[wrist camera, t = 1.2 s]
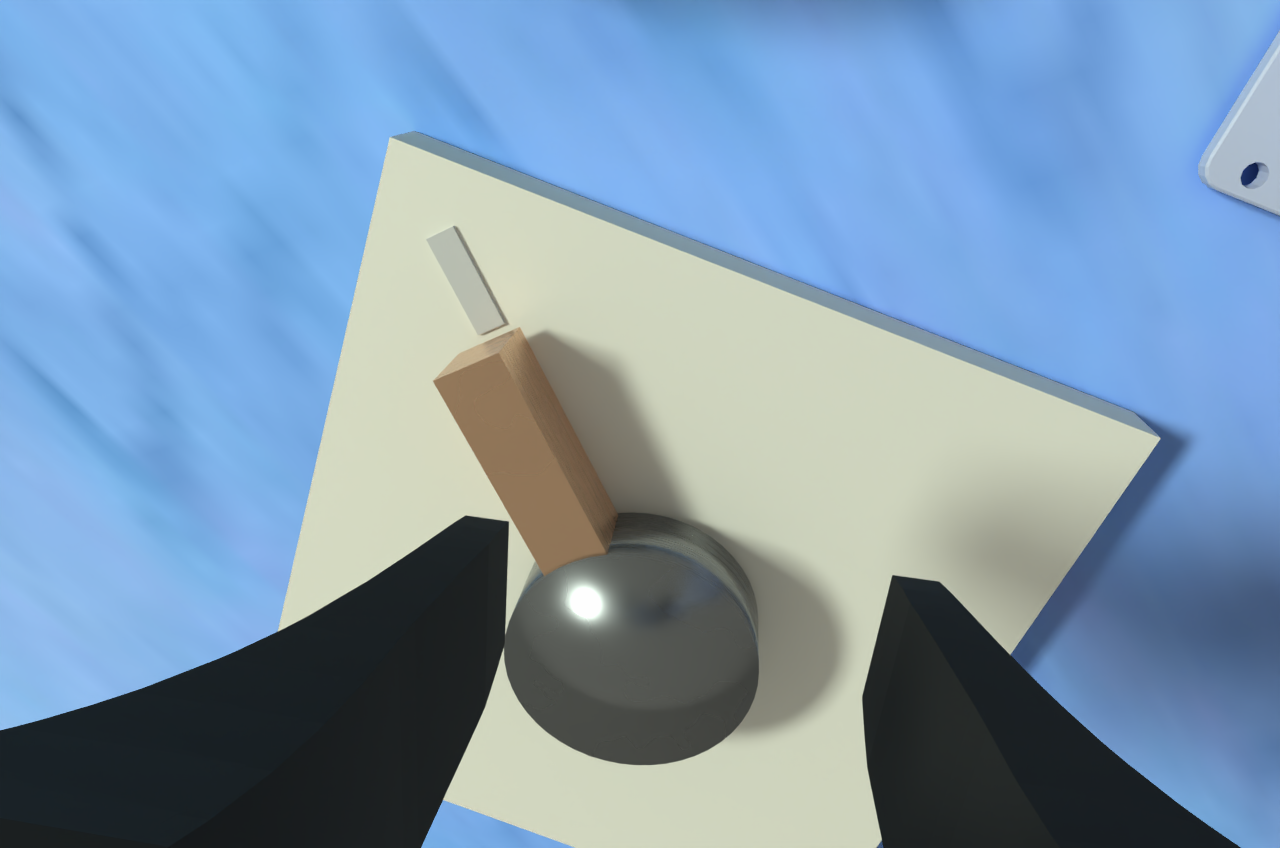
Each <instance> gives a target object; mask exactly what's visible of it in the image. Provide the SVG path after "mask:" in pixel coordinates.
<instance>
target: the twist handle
mask: <svg viewBox="0 0 1280 848" xmlns="http://www.w3.org/2000/svg"><path fill="white" fill-rule="evenodd" d="M433 382H434V384H435V386H436V388H437V389H438V391H439V393H440V395H441V396H442V398H443V400H444V402H445V403H446V405H447V407H448V409H449V410H450V412H451V414H452V416H453V417H454V419H455V421H456V423H457V424H458V426H459V428H460V430H461V431H462V433H463V435H464V437H465V438H466V440H467V442H468V444H469V445H470V447H471V449H472V451H473V452H474V454H475V456H476V458H477V459H478V461H479V463H480V465H481V466H482V468H483V470H484V472H485V473H486V475H487V477H488V479H489V480H490V482H491V484H492V486H493V487H494V489H495V491H496V493H497V494H498V496H499V498H500V500H501V501H502V503H503V505H504V507H505V508H506V510H507V512H508V514H509V515H510V517H511V519H512V521H513V522H514V524H515V526H516V528H517V529H518V531H519V533H520V535H521V536H522V538H523V540H524V542H525V543H526V545H527V547H528V549H529V550H530V552H531V554H532V556H533V557H534V559H535V562H534V564H533V566H532V569H531V571H530V573H529V575H528V578H527V580H526V582H525V585H524V587H523V590H522V592H521V594H520V597H519V599H518V602H517V604H516V606H515V609H514V611H513V614H512V616H511V618H510V621H509V624H508V627H507V631H506V634H505V645H504V662H505V667H506V672H507V676H508V679H509V682H510V684H511V687H512V689H513V691H514V693H515V695H516V697H517V699H518V701H519V702H520V704H521V705H522V706H523V708H524V709H525V711H526V712H527V713H528V714H529V715H530V717H531V718H532V719H533V720H534V721H535V722H536V723H537V724H538V725H539V726H540V727H541V728H543V729H544V730H545V731H546V732H547V733H548V734H550V735H551V736H553V737H554V738H556V739H557V740H558V741H560V742H562V743H563V744H565V745H567V746H569V747H571V748H572V749H574V750H577V751H579V752H581V753H584V754H586V755H588V756H591V757H595V758H598V759H601V760H605V761H609V762H614V763H619V764H628V765H658V764H667V763H672V762H677V761H682V760H685V759H688V758H691V757H694V756H696V755H698V754H701V753H703V752H705V751H707V750H709V749H711V748H712V747H714V746H715V745H717V744H719V743H720V742H722V741H723V740H724V739H725V738H726V737H728V736H729V735H730V734H731V733H732V732H733V731H734V730H735V729H736V728H737V727H738V726H739V724H740V723H741V722H742V721H743V719H744V718H745V716H746V714H747V713H748V711H749V709H750V707H751V705H752V703H753V700H754V698H755V694H756V690H757V687H758V678H759V640H758V610H757V603H756V599H755V594H754V592H753V589H752V586H751V584H750V581H749V579H748V578H747V576H746V574H745V572H744V571H743V569H742V567H741V566H740V565H739V563H738V562H737V561H736V560H735V558H734V557H733V556H732V555H731V554H730V553H729V552H728V551H727V550H726V549H725V548H724V547H723V546H722V545H721V544H719V543H718V542H717V541H716V540H714V539H713V538H712V537H710V536H709V535H707V534H705V533H704V532H702V531H700V530H699V529H697V528H695V527H693V526H691V525H688V524H686V523H684V522H682V521H678V520H675V519H672V518H669V517H665V516H660V515H655V514H649V513H636V512H630V513H617V512H616V510H615V508H614V506H613V504H612V502H611V500H610V498H609V496H608V494H607V493H606V491H605V489H604V487H603V485H602V483H601V481H600V479H599V477H598V475H597V473H596V471H595V470H594V468H593V466H592V464H591V462H590V460H589V458H588V456H587V454H586V452H585V450H584V449H583V447H582V445H581V443H580V441H579V439H578V437H577V435H576V433H575V431H574V429H573V427H572V426H571V424H570V422H569V420H568V418H567V416H566V414H565V412H564V410H563V408H562V406H561V405H560V403H559V401H558V399H557V397H556V395H555V393H554V391H553V389H552V387H551V385H550V384H549V382H548V380H547V378H546V376H545V374H544V372H543V370H542V368H541V366H540V364H539V362H538V361H537V359H536V357H535V355H534V353H533V351H532V349H531V347H530V345H529V343H528V341H527V340H526V338H525V336H524V334H523V332H522V330H521V328H520V327H518V328H516V329H514V330H511V331H509V332H507V333H505V334H502V335H500V336H498V337H495V338H493V339H491V340H488V341H486V342H484V343H482V344H479V345H477V346H475V347H472V348H470V349H468V350H465V351H463V352H461V353H459V354H458V355H457V356H456V357H455V358H454V359H453V360H452V361H451V362H450V363H449V364H448V365H447V366H446V368H445V369H444V370H443V371H442V372H441V373H440V374H439V375H438V376H437V377H436V378H435V379H434V380H433Z"/></svg>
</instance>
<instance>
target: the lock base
mask: <svg viewBox="0 0 1280 848" xmlns="http://www.w3.org/2000/svg"><path fill="white" fill-rule="evenodd" d="M518 327H520V328H521V330H522V332H523V334H524V336H525V338H526V340H527V341H528V343H529V345H530V347H531V349H532V351H533V353H534V355H535V357H536V359H537V361H538V362H539V364H540V366H541V368H542V370H543V372H544V374H545V376H546V378H547V380H548V382H549V384H550V385H551V387H552V389H553V391H554V393H555V395H556V397H557V399H558V401H559V403H560V405H561V406H562V408H563V410H564V412H565V414H566V416H567V418H568V420H569V422H570V424H571V426H572V427H573V429H574V431H575V433H576V435H577V437H578V439H579V441H580V443H581V445H582V447H583V449H584V450H585V452H586V454H587V456H588V458H589V460H590V462H591V464H592V466H593V468H594V470H595V471H596V473H597V475H598V477H599V479H600V481H601V483H602V485H603V487H604V489H605V491H606V493H607V494H608V496H609V498H610V500H611V502H612V504H613V506H614V508H615V510H616V512H617V513H630V512H636V513H649V514H655V515H660V516H665V517H669V518H672V519H675V520H678V521H682V522H684V523H686V524H688V525H691V526H693V527H695V528H697V529H699V530H700V531H702V532H704V533H705V534H707V535H709V536H710V537H712V538H713V539H714V540H716V541H717V542H718V543H719V544H721V545H722V546H723V547H724V548H725V549H726V550H727V551H728V552H729V553H730V554H731V555H732V556H733V557H734V558H735V560H736V561H737V562H738V563H739V565H740V566H741V567H742V569H743V571H744V572H745V574H746V576H747V578H748V579H749V581H750V584H751V586H752V589H753V592H754V594H755V599H756V603H757V610H758V640H759V678H758V687H757V690H756V694H755V698H754V700H753V703H752V705H751V707H750V709H749V711H748V713H747V714H746V716H745V718H744V719H743V721H742V722H741V723H740V724H739V726H738V727H737V728H736V729H735V730H734V731H733V732H732V733H731V734H730V735H729V736H728V737H726V738H725V739H724V740H723V741H722V742H720V743H719V744H717V745H715V746H714V747H712V748H711V749H709V750H707V751H705V752H703V753H701V754H698V755H696V756H694V757H691V758H688V759H685V760H682V761H677V762H672V763H667V764H658V765H628V764H619V763H614V762H609V761H605V760H601V759H598V758H595V757H591V756H588V755H586V754H584V753H581V752H579V751H577V750H574V749H572V748H571V747H569V746H567V745H565V744H563V743H562V742H560V741H558V740H557V739H556V738H554V737H553V736H551V735H550V734H548V733H547V732H546V731H545V730H544V729H543V728H541V727H540V726H539V725H538V724H537V723H536V722H535V721H534V720H533V719H532V718H531V717H530V715H529V714H528V713H527V712H526V711H525V709H524V708H523V706H522V705H521V704H520V702H519V701H518V699H517V697H516V695H515V693H514V691H513V689H512V687H511V684H510V682H509V679H508V676H507V672H506V667H505V662H504V648H503V652H502V655H501V658H500V662H499V665H498V668H497V671H496V675H495V678H494V681H493V684H492V687H491V691H490V694H489V697H488V700H487V703H486V706H485V709H484V711H483V713H482V716H481V718H480V720H479V722H478V725H477V727H476V729H475V731H474V733H473V736H472V738H471V740H470V742H469V744H468V747H467V749H466V751H465V753H464V755H463V758H462V760H461V762H460V764H459V766H458V768H457V771H456V773H455V775H454V777H453V779H452V781H451V783H450V786H449V788H448V790H447V792H446V794H445V796H444V799H443V800H445V801H448V802H451V803H453V804H456V805H459V806H462V807H465V808H467V809H470V810H473V811H476V812H478V813H481V814H484V815H487V816H489V817H492V818H495V819H498V820H501V821H503V822H506V823H509V824H512V825H514V826H517V827H520V828H523V829H525V830H528V831H531V832H534V833H537V834H539V835H542V836H545V837H548V838H550V839H553V840H556V841H559V842H561V843H564V844H567V845H570V846H573V847H575V848H877V846H878V845H879V843H880V842H881V840H882V838H881V833H880V828H879V824H878V819H877V814H876V809H875V804H874V799H873V794H872V789H871V784H870V779H869V774H868V769H867V760H866V748H865V736H864V721H863V706H862V695H863V691H864V687H865V683H866V679H867V675H868V671H869V667H870V663H871V659H872V655H873V651H874V647H875V643H876V639H877V635H878V631H879V627H880V623H881V619H882V615H883V610H884V606H885V602H886V598H887V594H888V590H889V586H890V582H891V578H892V575H896V576H904V577H911V578H918V579H925V580H932V581H939V582H940V583H942V584H943V585H944V586H945V587H946V588H947V589H948V590H949V591H950V592H951V593H952V594H953V595H954V596H955V597H956V598H957V599H958V600H959V601H960V603H961V604H962V605H963V606H964V607H965V608H966V609H967V610H968V611H969V612H970V613H971V614H972V615H973V616H974V617H975V618H976V620H977V621H978V622H979V623H980V624H981V625H982V626H983V627H984V628H985V629H986V630H987V631H988V632H989V633H990V634H991V635H992V637H993V638H994V639H995V640H996V641H997V642H998V643H999V644H1000V645H1001V646H1002V647H1003V648H1004V649H1005V650H1006V651H1007V652H1008V653H1009V654H1010V655H1011V653H1012V652H1013V650H1014V649H1015V647H1016V646H1017V645H1018V643H1019V642H1020V640H1021V639H1022V637H1023V636H1024V635H1025V633H1026V632H1027V630H1028V629H1029V627H1030V626H1031V624H1032V623H1033V622H1034V620H1035V619H1036V617H1037V616H1038V614H1039V613H1040V611H1041V610H1042V609H1043V607H1044V606H1045V604H1046V603H1047V601H1048V600H1049V599H1050V597H1051V596H1052V594H1053V593H1054V591H1055V590H1056V588H1057V587H1058V586H1059V584H1060V583H1061V581H1062V580H1063V578H1064V577H1065V576H1066V574H1067V573H1068V571H1069V570H1070V568H1071V567H1072V565H1073V564H1074V563H1075V561H1076V560H1077V558H1078V557H1079V555H1080V554H1081V552H1082V551H1083V550H1084V548H1085V547H1086V545H1087V544H1088V542H1089V541H1090V540H1091V538H1092V537H1093V535H1094V534H1095V532H1096V531H1097V529H1098V528H1099V527H1100V525H1101V524H1102V522H1103V521H1104V519H1105V518H1106V517H1107V515H1108V514H1109V512H1110V511H1111V509H1112V508H1113V506H1114V505H1115V504H1116V502H1117V501H1118V499H1119V498H1120V496H1121V495H1122V493H1123V492H1124V491H1125V489H1126V488H1127V486H1128V485H1129V483H1130V482H1131V481H1132V479H1133V478H1134V476H1135V475H1136V473H1137V472H1138V470H1139V469H1140V468H1141V466H1142V465H1143V463H1144V462H1145V460H1146V459H1147V457H1148V456H1149V455H1150V453H1151V452H1152V450H1153V449H1154V447H1155V446H1156V445H1157V443H1158V442H1159V440H1160V439H1161V438H1160V437H1159V436H1158V435H1157V434H1156V433H1155V432H1154V431H1153V430H1152V429H1151V428H1150V427H1149V426H1148V425H1147V424H1146V423H1144V422H1143V421H1142V420H1141V419H1140V418H1139V417H1138V416H1137V415H1136V414H1135V413H1134V412H1132V411H1129V410H1127V409H1124V408H1122V407H1119V406H1117V405H1114V404H1111V403H1109V402H1106V401H1104V400H1101V399H1099V398H1096V397H1094V396H1091V395H1088V394H1086V393H1083V392H1081V391H1078V390H1076V389H1073V388H1071V387H1068V386H1065V385H1063V384H1060V383H1058V382H1055V381H1053V380H1050V379H1048V378H1045V377H1042V376H1040V375H1037V374H1035V373H1032V372H1030V371H1027V370H1025V369H1022V368H1019V367H1017V366H1014V365H1012V364H1009V363H1007V362H1004V361H1001V360H999V359H996V358H994V357H991V356H989V355H986V354H984V353H981V352H978V351H976V350H973V349H971V348H968V347H966V346H963V345H961V344H958V343H955V342H953V341H950V340H948V339H945V338H943V337H940V336H938V335H935V334H932V333H930V332H927V331H925V330H922V329H920V328H917V327H915V326H912V325H909V324H907V323H904V322H902V321H899V320H897V319H894V318H892V317H889V316H886V315H884V314H881V313H879V312H876V311H874V310H871V309H869V308H866V307H863V306H861V305H858V304H856V303H853V302H851V301H848V300H846V299H843V298H840V297H838V296H835V295H833V294H830V293H828V292H825V291H823V290H820V289H817V288H815V287H812V286H810V285H807V284H805V283H802V282H800V281H797V280H794V279H792V278H789V277H787V276H784V275H782V274H779V273H776V272H774V271H771V270H769V269H766V268H764V267H761V266H759V265H756V264H753V263H751V262H748V261H746V260H743V259H741V258H738V257H736V256H733V255H730V254H728V253H725V252H723V251H720V250H718V249H715V248H713V247H710V246H707V245H705V244H702V243H700V242H697V241H695V240H692V239H690V238H687V237H684V236H682V235H679V234H677V233H674V232H672V231H669V230H667V229H664V228H661V227H659V226H656V225H654V224H651V223H649V222H646V221H644V220H641V219H638V218H636V217H633V216H631V215H628V214H626V213H623V212H621V211H618V210H615V209H613V208H610V207H608V206H605V205H603V204H600V203H598V202H595V201H592V200H590V199H587V198H585V197H582V196H580V195H577V194H575V193H572V192H569V191H567V190H564V189H562V188H559V187H557V186H554V185H551V184H549V183H546V182H544V181H541V180H539V179H536V178H534V177H531V176H528V175H526V174H523V173H521V172H518V171H516V170H513V169H511V168H508V167H505V166H503V165H500V164H498V163H495V162H493V161H490V160H488V159H485V158H482V157H480V156H477V155H475V154H472V153H470V152H467V151H465V150H462V149H459V148H457V147H454V146H452V145H449V144H447V143H444V142H442V141H439V140H436V139H434V138H431V137H429V136H426V135H424V134H421V133H419V132H416V131H412V132H408V133H404V134H400V135H396V136H392V137H390V139H389V144H388V148H387V152H386V157H385V161H384V166H383V170H382V174H381V179H380V183H379V188H378V192H377V196H376V201H375V205H374V210H373V214H372V219H371V223H370V227H369V232H368V236H367V241H366V245H365V249H364V254H363V258H362V263H361V267H360V271H359V276H358V280H357V285H356V289H355V294H354V298H353V302H352V307H351V311H350V316H349V320H348V324H347V329H346V333H345V338H344V342H343V346H342V351H341V355H340V360H339V364H338V369H337V373H336V377H335V382H334V386H333V391H332V395H331V399H330V404H329V408H328V413H327V417H326V421H325V426H324V430H323V435H322V439H321V444H320V448H319V452H318V457H317V461H316V466H315V470H314V474H313V479H312V483H311V488H310V492H309V496H308V501H307V505H306V510H305V514H304V518H303V523H302V527H301V532H300V536H299V541H298V545H297V549H296V554H295V558H294V563H293V567H292V571H291V576H290V580H289V585H288V589H287V593H286V598H285V602H284V607H283V611H282V616H281V620H280V624H279V629H278V631H280V630H282V629H284V628H286V627H288V626H290V625H292V624H294V623H296V622H297V621H299V620H301V619H303V618H305V617H307V616H309V615H310V614H312V613H314V612H316V611H317V610H319V609H321V608H322V607H324V606H326V605H327V604H329V603H331V602H333V601H334V600H336V599H338V598H339V597H341V596H343V595H344V594H346V593H348V592H350V591H351V590H353V589H355V588H356V587H358V586H360V585H361V584H363V583H365V582H367V581H368V580H370V579H371V578H373V577H374V576H376V575H377V574H379V573H380V572H382V571H384V570H385V569H387V568H388V567H390V566H391V565H393V564H394V563H396V562H397V561H399V560H400V559H402V558H403V557H405V556H406V555H408V554H409V553H411V552H412V551H414V550H415V549H417V548H418V547H419V546H421V545H422V544H424V543H425V542H427V541H428V540H430V539H431V538H432V537H434V536H435V535H437V534H438V533H440V532H441V531H443V530H444V529H445V528H447V527H448V526H450V525H451V524H453V523H454V522H456V521H457V520H459V519H461V518H462V517H464V516H465V515H467V516H474V517H481V518H488V519H495V520H502V521H509V540H508V568H507V597H506V625H505V634H506V631H507V627H508V624H509V621H510V618H511V616H512V614H513V611H514V609H515V606H516V604H517V602H518V599H519V597H520V594H521V592H522V590H523V587H524V585H525V582H526V580H527V578H528V575H529V573H530V571H531V569H532V566H533V564H534V562H535V559H534V557H533V556H532V554H531V552H530V550H529V549H528V547H527V545H526V543H525V542H524V540H523V538H522V536H521V535H520V533H519V531H518V529H517V528H516V526H515V524H514V522H513V521H512V519H511V517H510V515H509V514H508V512H507V510H506V508H505V507H504V505H503V503H502V501H501V500H500V498H499V496H498V494H497V493H496V491H495V489H494V487H493V486H492V484H491V482H490V480H489V479H488V477H487V475H486V473H485V472H484V470H483V468H482V466H481V465H480V463H479V461H478V459H477V458H476V456H475V454H474V452H473V451H472V449H471V447H470V445H469V444H468V442H467V440H466V438H465V437H464V435H463V433H462V431H461V430H460V428H459V426H458V424H457V423H456V421H455V419H454V417H453V416H452V414H451V412H450V410H449V409H448V407H447V405H446V403H445V402H444V400H443V398H442V396H441V395H440V393H439V391H438V389H437V388H436V386H435V384H434V382H433V380H434V379H435V378H436V377H437V376H438V375H439V374H440V373H441V372H442V371H443V370H444V369H445V368H446V366H447V365H448V364H449V363H450V362H451V361H452V360H453V359H454V358H455V357H456V356H457V355H458V354H459V353H461V352H463V351H465V350H468V349H470V348H472V347H475V346H477V345H479V344H482V343H484V342H486V341H488V340H491V339H493V338H495V337H498V336H500V335H502V334H505V333H507V332H509V331H511V330H514V329H516V328H518Z"/></svg>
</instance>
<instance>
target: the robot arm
mask: <svg viewBox="0 0 1280 848" xmlns="http://www.w3.org/2000/svg"><path fill="white" fill-rule="evenodd" d="M1252 163H1256V164H1258V169H1259V172H1258V175H1257V178H1256V179H1255V180H1254V181H1253V182H1252V183H1250V184H1248V185H1245V186H1243V185H1242V183H1241V179H1240V177H1241V174H1242V172H1243V170H1244V169H1245V168H1246V167H1247V166H1248V165H1250V164H1252ZM1198 175H1199V177H1200V179H1201V181H1202V183H1204V184H1205V185H1206V186H1208V187H1209V188H1212V189H1214V190H1217V191H1219V192H1222V193H1224V194H1226V195H1229V196H1231V197H1234V198H1236V199H1239V200H1241V201H1244V202H1246V203H1249V204H1251V205H1254V206H1256V207H1259V208H1261V209H1264V210H1266V211H1269V212H1271V213H1274V214H1276V215H1279V216H1280V31H1279V32H1278V34H1277V36H1276V37H1275V39H1274V40H1273V42H1272V44H1271V45H1270V47H1269V48H1268V50H1267V52H1266V53H1265V55H1264V57H1263V58H1262V60H1261V61H1260V63H1259V65H1258V66H1257V68H1256V69H1255V71H1254V73H1253V74H1252V76H1251V77H1250V79H1249V81H1248V82H1247V84H1246V86H1245V87H1244V89H1243V90H1242V92H1241V94H1240V95H1239V97H1238V98H1237V100H1236V102H1235V103H1234V105H1233V107H1232V108H1231V110H1230V111H1229V113H1228V115H1227V116H1226V118H1225V119H1224V121H1223V123H1222V124H1221V126H1220V127H1219V129H1218V131H1217V132H1216V134H1215V136H1214V137H1213V139H1212V140H1211V142H1210V144H1209V145H1208V147H1207V148H1206V150H1205V152H1204V153H1203V155H1202V157H1201V159H1200V162H1199V164H1198ZM508 540H509V521H502V520H495V519H488V518H481V517H474V516H467V515H465V516H464V517H462V518H461V519H459V520H457V521H456V522H454V523H453V524H451V525H450V526H448V527H447V528H445V529H444V530H443V531H441V532H440V533H438V534H437V535H435V536H434V537H432V538H431V539H430V540H428V541H427V542H425V543H424V544H422V545H421V546H419V547H418V548H417V549H415V550H414V551H412V552H411V553H409V554H408V555H406V556H405V557H403V558H402V559H400V560H399V561H397V562H396V563H394V564H393V565H391V566H390V567H388V568H387V569H385V570H384V571H382V572H380V573H379V574H377V575H376V576H374V577H373V578H371V579H370V580H368V581H367V582H365V583H363V584H361V585H360V586H358V587H356V588H355V589H353V590H351V591H350V592H348V593H346V594H344V595H343V596H341V597H339V598H338V599H336V600H334V601H333V602H331V603H329V604H327V605H326V606H324V607H322V608H321V609H319V610H317V611H316V612H314V613H312V614H310V615H309V616H307V617H305V618H303V619H301V620H299V621H297V622H296V623H294V624H292V625H290V626H288V627H286V628H284V629H282V630H280V631H278V632H276V633H274V634H272V635H270V636H268V637H266V638H263V639H261V640H259V641H257V642H255V643H253V644H251V645H248V646H246V647H244V648H242V649H240V650H238V651H236V652H233V653H231V654H229V655H226V656H224V657H222V658H220V659H217V660H214V661H212V662H209V663H207V664H204V665H201V666H199V667H196V668H194V669H191V670H189V671H186V672H183V673H181V674H178V675H176V676H173V677H171V678H168V679H165V680H163V681H160V682H158V683H155V684H153V685H150V686H147V687H145V688H142V689H139V690H136V691H133V692H130V693H127V694H124V695H121V696H118V697H115V698H112V699H109V700H106V701H103V702H100V703H97V704H94V705H90V706H87V707H83V708H80V709H77V710H73V711H70V712H67V713H63V714H60V715H56V716H53V717H50V718H46V719H43V720H39V721H35V722H32V723H28V724H24V725H20V726H17V727H13V728H9V729H4V730H0V848H421V846H422V844H423V842H424V840H425V838H426V835H427V833H428V831H429V829H430V827H431V825H432V822H433V820H434V818H435V816H436V814H437V812H438V809H439V807H440V805H441V803H442V801H443V799H444V796H445V794H446V792H447V790H448V788H449V786H450V783H451V781H452V779H453V777H454V775H455V773H456V771H457V768H458V766H459V764H460V762H461V760H462V758H463V755H464V753H465V751H466V749H467V747H468V744H469V742H470V740H471V738H472V736H473V733H474V731H475V729H476V727H477V725H478V722H479V720H480V718H481V716H482V713H483V711H484V709H485V706H486V703H487V700H488V697H489V694H490V691H491V687H492V684H493V681H494V678H495V675H496V671H497V668H498V665H499V662H500V658H501V655H502V652H503V648H504V645H505V625H506V597H507V568H508ZM862 706H863V721H864V736H865V748H866V760H867V769H868V774H869V779H870V784H871V789H872V794H873V799H874V804H875V809H876V814H877V819H878V824H879V828H880V833H881V838H882V842H883V847H884V848H1241V847H1239V846H1238V845H1236V844H1235V843H1233V842H1232V841H1230V840H1229V839H1227V838H1226V837H1224V836H1223V835H1221V834H1220V833H1219V832H1217V831H1216V830H1214V829H1213V828H1211V827H1210V826H1208V825H1207V824H1206V823H1204V822H1203V821H1202V820H1200V819H1199V818H1197V817H1196V816H1195V815H1193V814H1192V813H1191V812H1189V811H1188V810H1186V809H1185V808H1184V807H1182V806H1181V805H1180V804H1178V803H1177V802H1176V801H1174V800H1173V799H1172V798H1170V797H1169V796H1168V795H1167V794H1165V793H1164V792H1163V791H1162V790H1160V789H1159V788H1158V787H1156V786H1155V785H1154V784H1153V783H1151V782H1150V781H1149V780H1148V779H1146V778H1145V777H1144V776H1142V775H1141V774H1140V773H1139V772H1137V771H1136V770H1135V769H1134V768H1132V767H1131V766H1130V765H1128V764H1127V763H1126V762H1125V761H1124V760H1122V759H1121V758H1120V757H1119V756H1118V755H1116V754H1115V753H1114V752H1113V751H1112V750H1110V749H1109V748H1108V747H1107V746H1106V745H1105V744H1103V743H1102V742H1101V741H1100V740H1099V739H1098V738H1097V737H1095V736H1094V735H1093V734H1092V733H1091V732H1090V731H1089V730H1088V729H1087V728H1086V727H1084V726H1083V725H1082V724H1081V723H1080V722H1079V721H1078V720H1077V719H1076V718H1075V717H1073V716H1072V715H1071V714H1070V713H1069V712H1068V711H1067V710H1066V709H1065V708H1063V707H1062V706H1061V705H1060V704H1059V703H1058V702H1057V701H1056V700H1055V699H1054V698H1053V697H1052V696H1051V695H1050V694H1049V693H1048V692H1047V691H1046V690H1045V689H1044V688H1043V687H1041V686H1040V685H1039V684H1038V683H1037V682H1036V681H1035V680H1034V679H1033V678H1032V677H1031V676H1030V675H1029V674H1028V673H1027V672H1026V671H1025V670H1024V669H1023V668H1022V667H1021V666H1020V665H1019V664H1018V662H1017V661H1016V660H1015V659H1014V658H1013V657H1012V656H1011V655H1010V654H1009V653H1008V652H1007V651H1006V650H1005V649H1004V648H1003V647H1002V646H1001V645H1000V644H999V643H998V642H997V641H996V640H995V639H994V638H993V637H992V635H991V634H990V633H989V632H988V631H987V630H986V629H985V628H984V627H983V626H982V625H981V624H980V623H979V622H978V621H977V620H976V618H975V617H974V616H973V615H972V614H971V613H970V612H969V611H968V610H967V609H966V608H965V607H964V606H963V605H962V604H961V603H960V601H959V600H958V599H957V598H956V597H955V596H954V595H953V594H952V593H951V592H950V591H949V590H948V589H947V588H946V587H945V586H944V585H943V584H942V583H940V582H939V581H932V580H925V579H918V578H911V577H904V576H896V575H892V578H891V582H890V586H889V590H888V594H887V598H886V602H885V606H884V610H883V615H882V619H881V623H880V627H879V631H878V635H877V639H876V643H875V647H874V651H873V655H872V659H871V663H870V667H869V671H868V675H867V679H866V683H865V687H864V691H863V695H862Z"/></svg>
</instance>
